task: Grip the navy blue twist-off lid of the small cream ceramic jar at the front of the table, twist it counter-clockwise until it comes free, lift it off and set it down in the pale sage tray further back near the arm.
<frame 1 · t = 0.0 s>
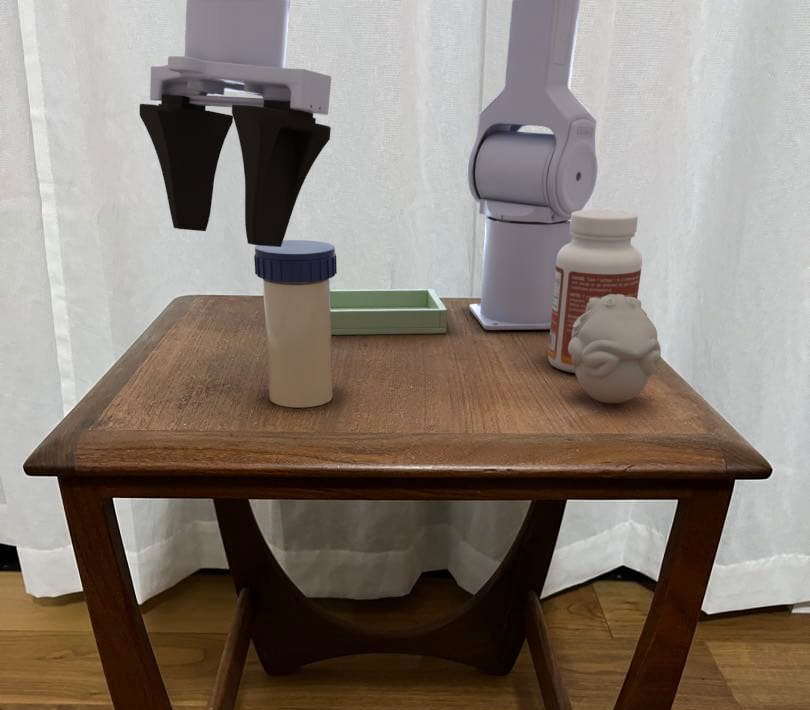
hand: (225, 237, 54), 11 cm above the table, tool pointing down, fingers open, 7 cm apart
pill bottle: (586, 368, 68), on the table
tray: (365, 322, 78), on the table
jar: (301, 397, 60), on the table
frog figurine: (607, 402, 60), on the table
lid: (295, 253, 55), point 9 cm above the table, screwed on, not yet turned
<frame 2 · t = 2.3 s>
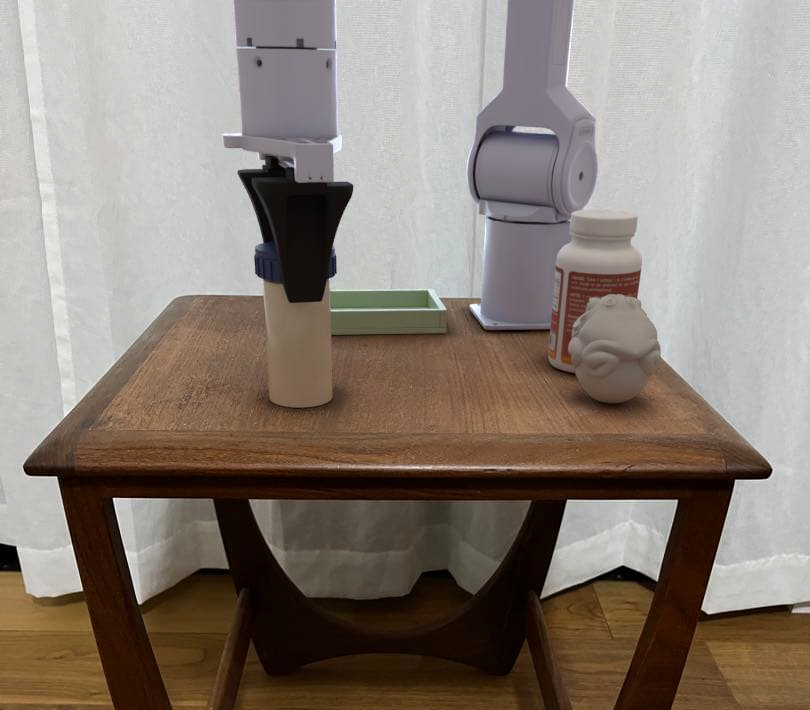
hand: (296, 291, 56), 7 cm above the table, tool pointing down, fingers closed on lid, 5 cm apart
lid: (295, 253, 55), point 9 cm above the table, screwed on, not yet turned, touching gripper
everything else where it was.
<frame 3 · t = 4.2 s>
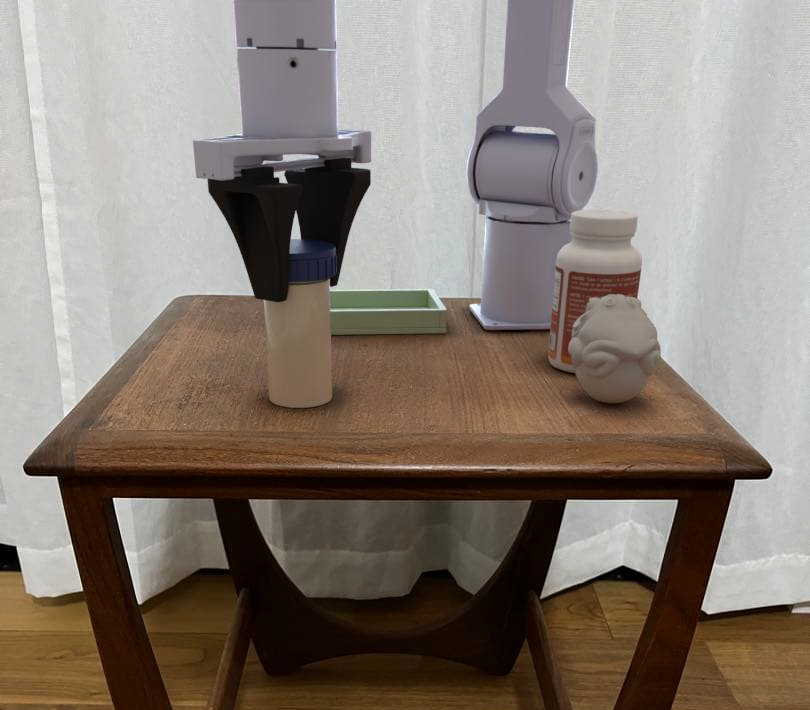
hand: (296, 291, 56), 7 cm above the table, tool pointing down, fingers closed on lid, 5 cm apart
lid: (295, 252, 55), point 10 cm above the table, off its thread, touching gripper
everything else where it was.
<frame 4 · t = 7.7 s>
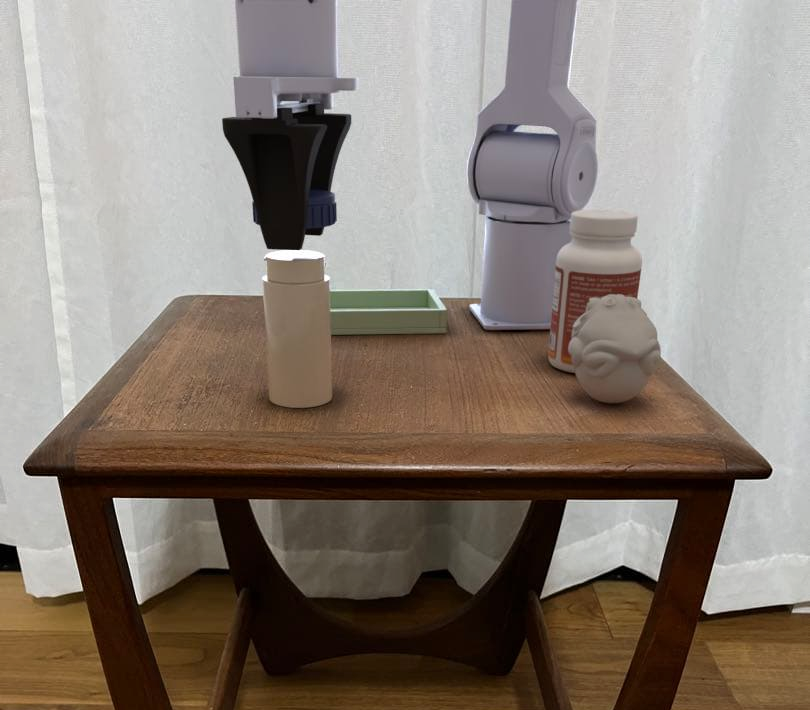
hand: (295, 241, 55), 10 cm above the table, tool pointing down, fingers closed on lid, 5 cm apart
lid: (294, 200, 54), point 13 cm above the table, off its thread, touching gripper
everything else where it was.
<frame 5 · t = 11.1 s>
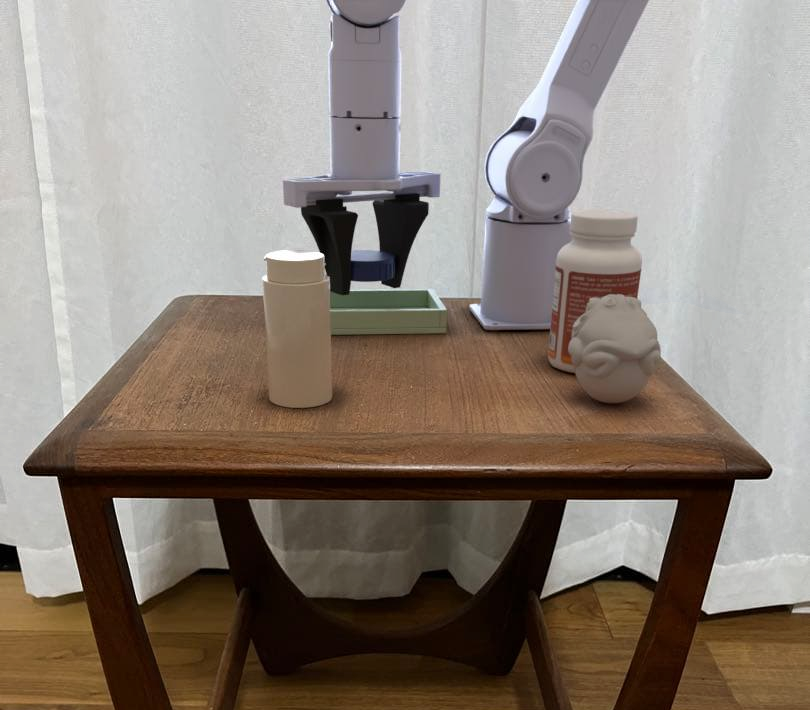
hand: (365, 289, 77), 3 cm above the table, tool pointing down, fingers closed on lid, 5 cm apart
lid: (365, 260, 75), point 5 cm above the table, off its thread, touching gripper
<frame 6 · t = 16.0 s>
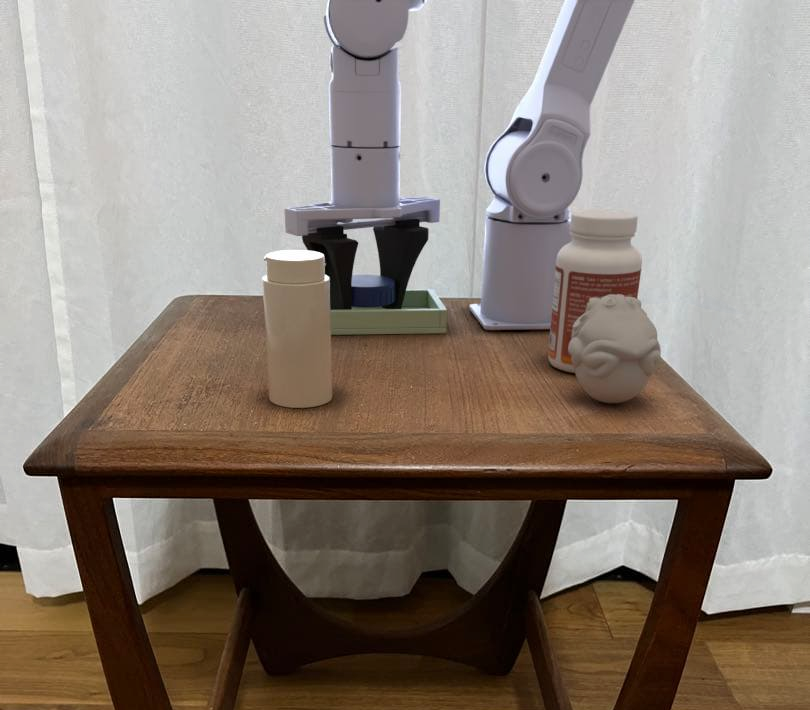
hand: (366, 313, 78), 1 cm above the table, tool pointing down, fingers closed on lid, 5 cm apart
lid: (365, 285, 76), point 3 cm above the table, off its thread, touching gripper
everything else where it was.
when the fingers open (2 cm above the table, at t = 20.3 s): lid drops 2 cm, resting on tray.
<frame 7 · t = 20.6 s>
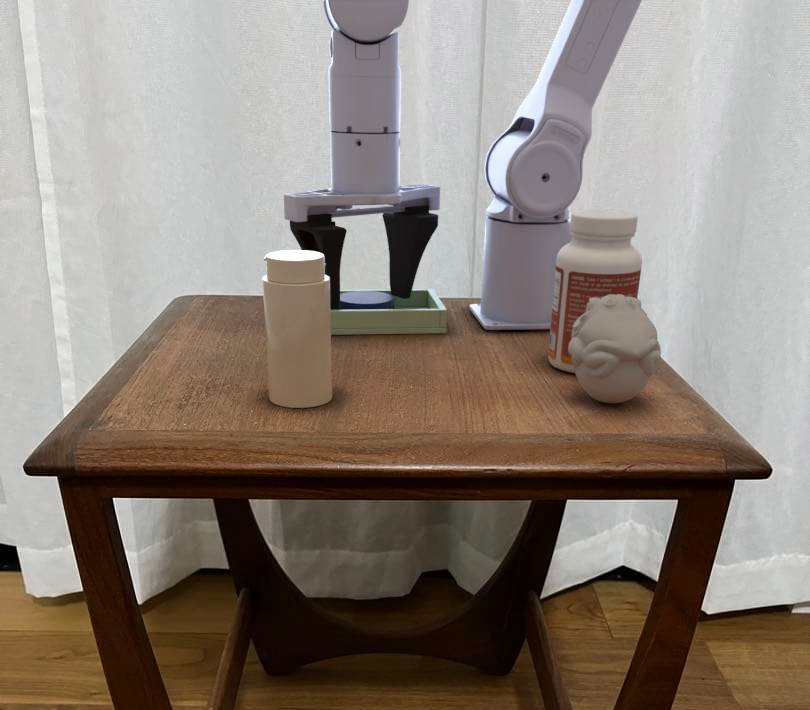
hand: (365, 301, 77), 2 cm above the table, tool pointing down, fingers open, 7 cm apart
lid: (365, 301, 77), point 2 cm above the table, off its thread, touching tray
everything else where it was.
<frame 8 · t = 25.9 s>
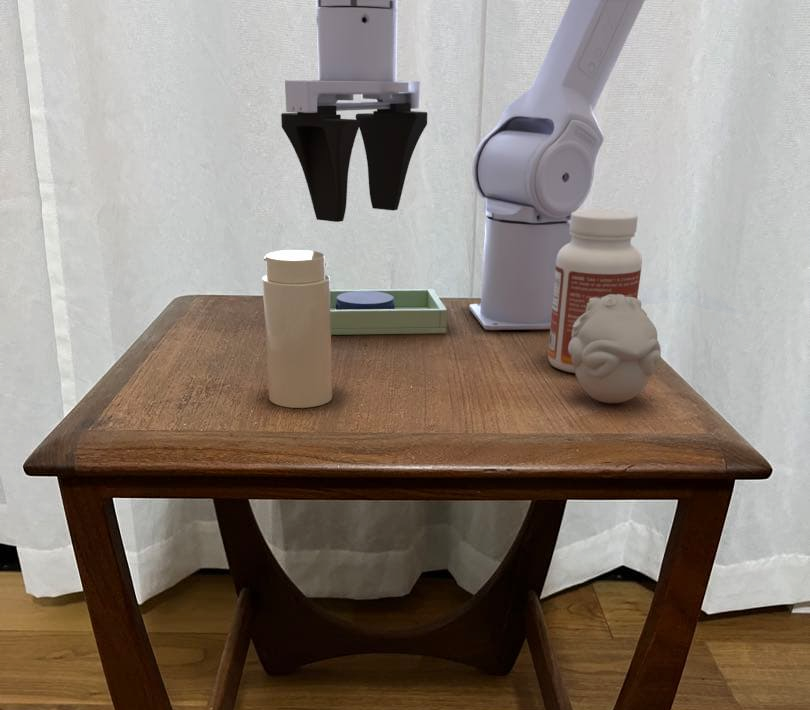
hand: (358, 214, 68), 10 cm above the table, tool pointing down, fingers open, 7 cm apart
nothing on the table moved.
at the end: lid came off its thread; lid inside the target area in the tray (0.1 cm from its centre), point 1.8 cm above the tray's base; the gripper is holding nothing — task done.
